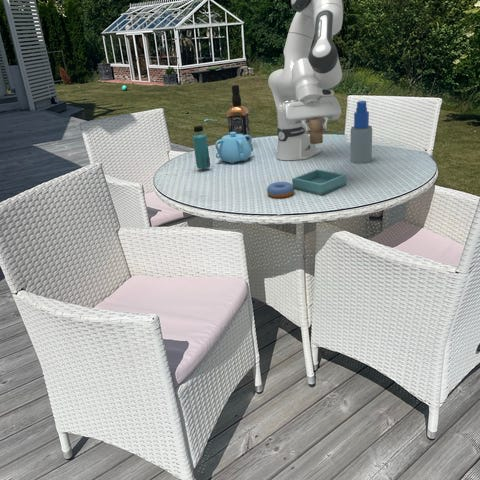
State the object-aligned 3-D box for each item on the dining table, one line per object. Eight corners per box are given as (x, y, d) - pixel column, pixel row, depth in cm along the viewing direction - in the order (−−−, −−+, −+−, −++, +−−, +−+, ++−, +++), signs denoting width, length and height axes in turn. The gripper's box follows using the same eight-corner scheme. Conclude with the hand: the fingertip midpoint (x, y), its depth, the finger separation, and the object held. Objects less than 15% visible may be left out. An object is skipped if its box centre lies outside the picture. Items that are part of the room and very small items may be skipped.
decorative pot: (212, 164, 214) (208, 136, 209) (229, 155, 227) (226, 128, 221) (242, 165, 207) (239, 136, 201) (257, 156, 219) (255, 128, 213)
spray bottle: (351, 158, 200) (352, 100, 190) (372, 157, 197) (373, 99, 187) (349, 163, 193) (349, 103, 182) (370, 163, 190) (372, 102, 179)
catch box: (317, 179, 177) (316, 169, 176) (345, 185, 167) (345, 174, 166) (292, 188, 170) (292, 178, 168) (321, 195, 160) (321, 185, 158)
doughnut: (261, 196, 164) (262, 184, 162) (275, 189, 172) (275, 178, 170) (285, 202, 159) (286, 190, 157) (298, 194, 167) (299, 182, 165)
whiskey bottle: (252, 145, 242) (247, 83, 229) (248, 150, 233) (242, 85, 220) (233, 146, 245) (227, 84, 231) (229, 150, 236) (222, 87, 223)
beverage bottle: (209, 171, 202) (203, 127, 194) (195, 172, 204) (188, 128, 196) (212, 167, 208) (207, 124, 200) (199, 168, 210) (193, 125, 201)
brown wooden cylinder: (311, 141, 164) (310, 119, 161) (323, 140, 163) (322, 118, 159) (309, 144, 160) (308, 121, 157) (321, 143, 159) (321, 120, 155)
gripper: (281, 96, 160) (288, 128, 156) (337, 89, 161) (346, 121, 157) (280, 107, 166) (286, 139, 162) (334, 101, 167) (342, 132, 163)
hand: (316, 130), depth 159 cm, fingers closed on brown wooden cylinder, 4 cm apart
